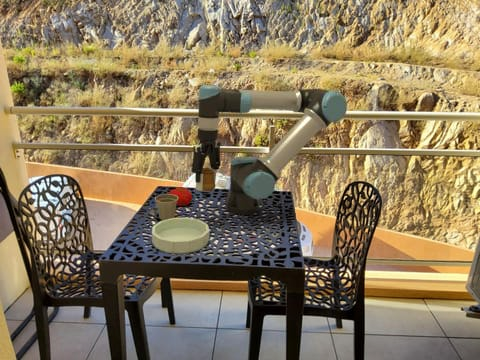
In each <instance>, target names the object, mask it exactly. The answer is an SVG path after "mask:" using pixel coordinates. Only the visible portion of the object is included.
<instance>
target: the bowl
mask: <svg viewBox="0 0 480 360" xmlns="http://www.w3.org/2000/svg"><path fill="white" fill-rule="evenodd" d="M151 228H152V230H151V243H152V245H153V247H154V248H155V249H157V250H159V251H160V252H163V251H164V253H168V254H176V255H177V254H180V255H181V254H188V253H190V254H191V253H195V252H197V251H200V250H201V249H203V248H205V247H206V246H207V245H208V243H209V240H210V229H209V225H208V224H207V223H206V222H204V221H202V220H201V219H197V218H191V217H175V218H171V219H167V220H160V221H159V222H157V223H155V225H153V226H152V227H151Z"/></svg>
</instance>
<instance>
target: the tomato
mask: <svg viewBox="0 0 480 360" xmlns="http://www.w3.org/2000/svg"><path fill="white" fill-rule="evenodd" d="M168 194H172V195H176V196H178V200H177V203H176V206H183V207H184V206H188V205H189V204H191V203H192V200H193V195H192V193H191V191H190V190H189V189H188V188H184V187H183V186H179V187H176V188H175V189H171V190H170V191H169V192H168Z"/></svg>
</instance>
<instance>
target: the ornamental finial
mask: <svg viewBox="0 0 480 360" xmlns="http://www.w3.org/2000/svg"><path fill="white" fill-rule="evenodd" d="M210 168H211V167H210ZM210 168H209V167H203V170H202V173H201V174H203V190H202V191H201V192H211V191H213V190H215V188H216V182H215V183H214V172H213V171H212V170H210Z"/></svg>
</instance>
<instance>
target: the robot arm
mask: <svg viewBox="0 0 480 360" xmlns="http://www.w3.org/2000/svg"><path fill="white" fill-rule="evenodd" d="M198 91H199V92H198V111H197V112H198V113H197V115H198V121H197V127H198V129H197V139H198V141H199V142H198V145H193V155H192V165H191V173H193V174H195V181H194V182H195V191H200V192H203V191H202V190H203V174H201V173H202V170H203V168H204V166H205V162H206V159H207V157H208V160H209V165H210V170H212V171H213V172H214V183H215V184H216V182H217V181H216V180H217V170H219V169H220V168H221V153H220V152H221V142H220V141H217V140H218V138H219V122H220V120H219V119H220V113H222V114H223V113H225V114H227V113H228V114H229V113H230V114H240V115H241V114H247V113H249V112H251V110H280V111H281V110H285V111H287V110H288V111H292V112H293V113H300V114H303V116H302V117H301V118H300V119H298V120H297V122H296V123H295V124H294V125H293V126H292V128H291V129H289V130H288V132H287V133H286V134H285V135H284V136H283V137H282V138H281V139H280V140H278V142H277V143H276V144H275V146H273V148H272V149H270V151H269V152H268V153H267V154H266V155H265V156H264V157H262V158H261V157H260V158H259V157H258V158H257V157H254V156H237V157H232V158H231V159H230V160H231V161H230V175H229V176H230V177H229V181H230V182H229V193H228V195H227V198H226V200H225V209H226V210H227V211H228V212H231V213H233V214H237V215H239V214H240V215H248V214H255V213H257V212H259V210H260V207H261V206H260V204H261V203H260V201H259V200H263V199H267V198H268V197H270V196H271V195H272V194H273V192H274V191H275V188H276V187H275V186H276V182H278V180H279V179H280V172H281V171H282V170H284V168H286V166H288V164H289V163H290V162H291V160H293V159H294V157H296V156H297V154H298V153H299V152H300V151H301V150H302V149H303V148H304V147H305V146H306V144H308V143H309V141H311V140H312V138H313V137H315V135H316V134H317V133H318V132H319V131H320V130H326V129H327V128H328V127H329V126H330V125H331V124H332V123H338V122H340V121H342V119H344V117H345V116H346V114H347V111H348V101H347V99H346V97H345V96H344V95H343V93H341V92H339V91H336V90H328V89H323V88H308V89H306V88H305V89H293V91H285V90H284V91H279V90H261V89H260V90H258V89H257V90H256V89H227V88H225V87H224V88H221V87H220V86H219V85H209V84H208V85H207V84H203V85H200V87H199V90H198Z"/></svg>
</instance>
